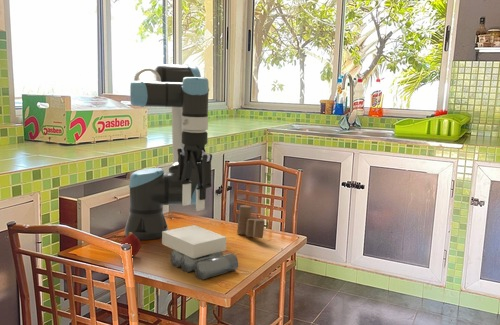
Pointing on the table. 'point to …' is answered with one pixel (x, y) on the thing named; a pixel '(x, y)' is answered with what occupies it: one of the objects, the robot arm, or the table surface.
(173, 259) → the cylinder
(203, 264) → the roller
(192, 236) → the slab
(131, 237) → the onion
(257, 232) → the wooden block set
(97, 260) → the table surface
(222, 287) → the table surface
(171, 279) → the table surface
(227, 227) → the table surface
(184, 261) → the roller front
